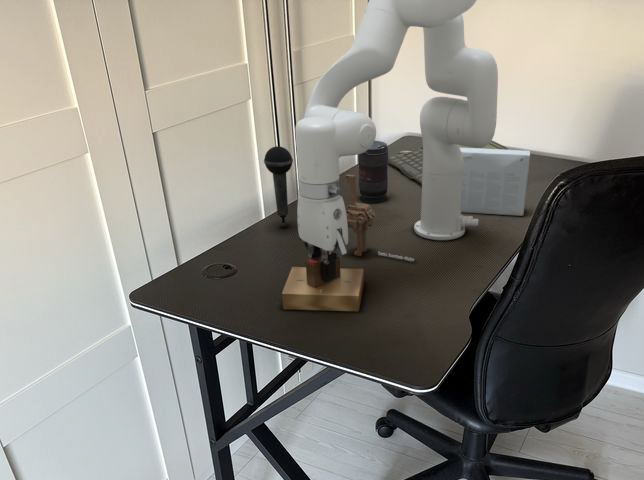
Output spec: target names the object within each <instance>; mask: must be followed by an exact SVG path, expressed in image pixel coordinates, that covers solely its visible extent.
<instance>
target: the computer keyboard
mask: <svg viewBox="0 0 644 480" xmlns="http://www.w3.org/2000/svg"><path fill="white" fill-rule="evenodd" d="M459 147H460V148H473V147H467V146H462V145H459ZM481 149H503V150H509V148H508V147H507V146H505V145H503V144H501V143H498V142H496V140H495V141H494V140H493V139H492V140H491V142H490V143H489V144H488V145H487V146H485V147H483V148H481ZM388 164H390V165H392V166H394V167H396V168H398V170H400V171H401V173H403V174H404V176H406V177H407V178H408V179H412V180H413V179H414V180H415V181H416V182H418V183H420V184H421V185H422V171H423V146H422V147H421V148H420V149H415V150H412V151H406V152H403V153H399V154H396V155H391V156H388Z"/></svg>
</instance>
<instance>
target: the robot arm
mask: <svg viewBox="0 0 644 480" xmlns="http://www.w3.org/2000/svg"><path fill="white" fill-rule="evenodd" d="M476 2H477V0H368V2H367V5H366V7H365V10H364V13H363V15H362V18H361V21H360V23H359V26H358V29H357V31H356V34H355V36H354V40H353V41H352V45H351V47H350V48H349V49H348V51H347V52H346V53H344V54H343V55H342V56H341V57H339V58H338V59H337V60H336V61H335V62H334V63H333V64H332V65H330V67H329V68H327V69H326V71H324V73H323V74H322V75H321V76H320V78H319V79H318V80H317V82H316V83H315V85H314V87H313V90H312V91H311V94H310V97H309V99H308V102H307V105H306V108H305V111H304V115H303V118H301V119H299V120H298V122H296V124H295V130H294V131H295V146H296V160H297V161H296V163H297V177H298V178H297V179H298V196H297V209H296V211H297V214H296V215H297V221H296V222H297V232H298V239H299V241H301V242H302V244H303V245H304V247H305V248H306V250H307V256H308V257H309V259H313V258H316V257H318V256H321V255H323V260H324V263H322V280H323V281H324V282H327V281H329V280H332V279H334V278H336V260H338V258H340V259H341V258H343V257H346V256H347V255H348V252H347V249H346V246H347V245H348V244H349V227H348V225H347V216H346V210H345V208H346V206H345V201H344V198H343V197H344V196H342V195H341V193H342V189H341V188H340V187H341V185H340V158H341V157H349V156H358V154H361V153H364V152H366V151H367V150H368V149H369V148H370V147H371V146H372V145H373V143H374V141H376V137H377V127H376V125H375V122H374V121H373V120H372V118H371V117H369V116H368V115H367V114H365V113H362V112H359V111H354V110H348V109H344V108H340V107H339V105H340V103H341V101H342V99H343V98H344V97H345V96H346V95H347V94H348V93H349V92H351V91H352V90H353V89H354V88H356V87H357V86H359V85H363V84H364V83H367V82H369V81H372V80H375V79H377V78H379V77H383V76H385V75H386V74H389V73H390V72H391V71H392V70H393V68H394V67H395V64H396V60H397V58H398V56H399V53H400V50H401V48H402V45H403V42H404V41H405V37H406V34H407V33H408V30H409V29H410V27H415V28H416V27H417V28H422V31H423V52H424V53H423V55H424V76H425V81H426V82H425V83H426V85H427V86H428V89H431V91H434V92H436V93H440V94H446V95H451V96H458V97H464V98H466V100H465V99H462V98H455V97H448V96H435V97H432V98H430V99H428V100H427V101H426V102H425V103H424V104H423V106H422V107H421V110H420V115H419V126H420V134H421V140H422V147H423V171H422V184H421V200H420V207H421V208H420V220H418V221H416V222H415V223H414V225H413V231H414V233H415V234H416V235H418V236H419V237H421V238H424V239H428V240H432V241H433V240H434V241H451V240H455V239H458V238H461V237H462V236H463V235H464V234H466V233H465V232H466V227H472V228H478V227H479V218H474V216H472V215H463V214H462V212H461V210H460V204H461V189H462V175H463V156H462V153H461V150H460V147H459V145H462V146H467V147H473V148H483V147H485V146H487V145H488V144H489V143H490V142H491V140H492V141H493V139H494V136H495V134H496V133H495V132H496V127H497V117H498V87H499V70H498V69H499V68H498V64H497V61H496V59H495V57H494V55H493V54H491V53H490V52H489V51H487V50H484V49H481V48H471V47H467V46H466V43H465V22H464V21H465V20H464V16H463V14H464V13H466V12H468V11H470V9H471V8H472V7H474V5H475V4H476ZM330 251H331V254H330V255H329V252H330Z"/></svg>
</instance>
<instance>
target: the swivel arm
mask: <svg viewBox="0 0 644 480" xmlns="http://www.w3.org/2000/svg"><path fill="white" fill-rule="evenodd" d="M330 254H331V251H330V252H329V255H330ZM322 263H324V260H323V255H321V256H318V257H316V258H313V259H311V258H309V259H306V261H305V267H306V275H307V284H308V285H310V286H312V287H314V288H316V287H319V286H321V285H323V284H325V283H328V282H330V281H332V280H334V279H337V278H339V277H341V275H340V268H341V257H340V258H338V260H336V278H334V279H332V280H329V281H327V282H324V281H323V280H322Z"/></svg>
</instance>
